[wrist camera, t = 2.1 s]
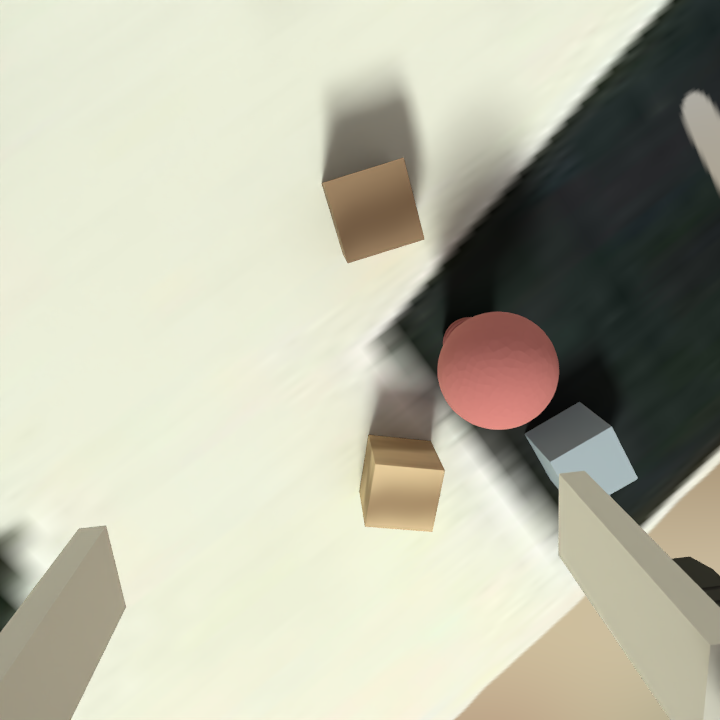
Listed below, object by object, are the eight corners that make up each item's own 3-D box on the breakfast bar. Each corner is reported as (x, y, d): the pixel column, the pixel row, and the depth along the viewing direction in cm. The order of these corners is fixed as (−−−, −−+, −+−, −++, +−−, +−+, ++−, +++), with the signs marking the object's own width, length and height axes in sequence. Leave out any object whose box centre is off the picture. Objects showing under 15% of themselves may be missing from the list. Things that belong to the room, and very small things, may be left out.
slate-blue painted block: (524, 433, 45) (549, 462, 40) (579, 401, 44) (611, 426, 40) (550, 479, 46) (578, 512, 42) (603, 448, 46) (637, 478, 41)
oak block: (368, 434, 44) (375, 464, 39) (430, 440, 44) (444, 470, 40) (359, 491, 45) (364, 526, 40) (419, 496, 46) (432, 531, 41)
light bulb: (396, 323, 41) (429, 373, 30) (479, 270, 41) (546, 301, 29) (443, 398, 43) (491, 472, 32) (523, 349, 43) (601, 406, 31)
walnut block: (321, 183, 38) (323, 182, 33) (391, 161, 38) (403, 157, 33) (343, 254, 40) (347, 263, 35) (410, 233, 40) (424, 239, 35)
